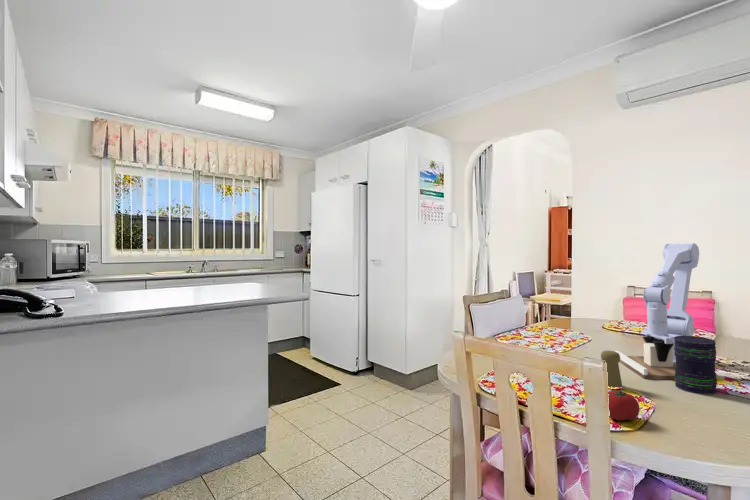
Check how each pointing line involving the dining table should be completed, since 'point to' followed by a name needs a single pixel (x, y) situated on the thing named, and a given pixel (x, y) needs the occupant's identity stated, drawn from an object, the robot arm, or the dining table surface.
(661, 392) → the dining table surface
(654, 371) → the brown tray
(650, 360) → the carton
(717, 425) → the dining table surface
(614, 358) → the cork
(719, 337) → the dining table surface
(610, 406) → the tomato
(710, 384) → the dark blue cylinder
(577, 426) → the dining table surface
